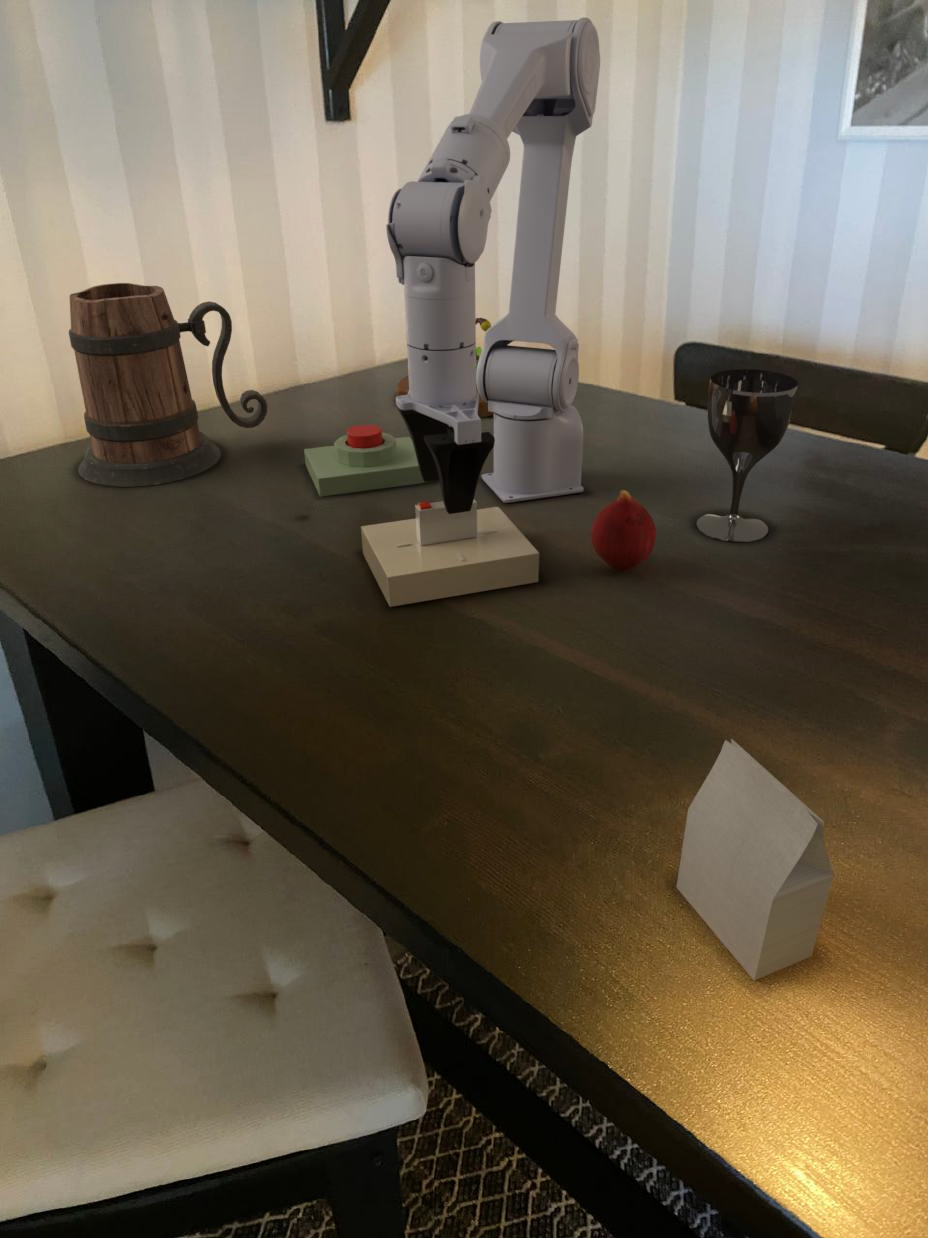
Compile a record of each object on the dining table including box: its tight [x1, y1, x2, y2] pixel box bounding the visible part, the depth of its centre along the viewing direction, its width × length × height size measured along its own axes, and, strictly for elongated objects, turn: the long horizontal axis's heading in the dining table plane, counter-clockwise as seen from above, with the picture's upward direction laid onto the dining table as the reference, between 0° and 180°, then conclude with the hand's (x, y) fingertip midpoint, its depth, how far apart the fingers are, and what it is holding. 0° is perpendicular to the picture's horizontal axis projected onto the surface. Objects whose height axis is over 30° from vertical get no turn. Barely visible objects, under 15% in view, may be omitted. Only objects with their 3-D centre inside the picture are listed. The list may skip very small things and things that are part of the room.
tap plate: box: [360, 506, 540, 608], centre depth 84 cm, size 14×11×3 cm
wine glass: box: [695, 368, 799, 543], centre depth 88 cm, size 8×8×15 cm
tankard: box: [68, 282, 268, 488], centre depth 107 cm, size 24×17×20 cm
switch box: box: [414, 499, 478, 546], centre depth 83 cm, size 6×1×4 cm, turn 108°
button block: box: [303, 432, 433, 498], centre depth 105 cm, size 13×10×4 cm
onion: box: [590, 489, 657, 573], centre depth 82 cm, size 6×6×8 cm
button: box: [346, 424, 383, 449], centre depth 104 cm, size 4×4×2 cm
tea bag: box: [676, 738, 835, 982], centre depth 46 cm, size 4×7×10 cm, turn 23°
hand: (445, 494), depth 81 cm, fingers open, 7 cm apart
